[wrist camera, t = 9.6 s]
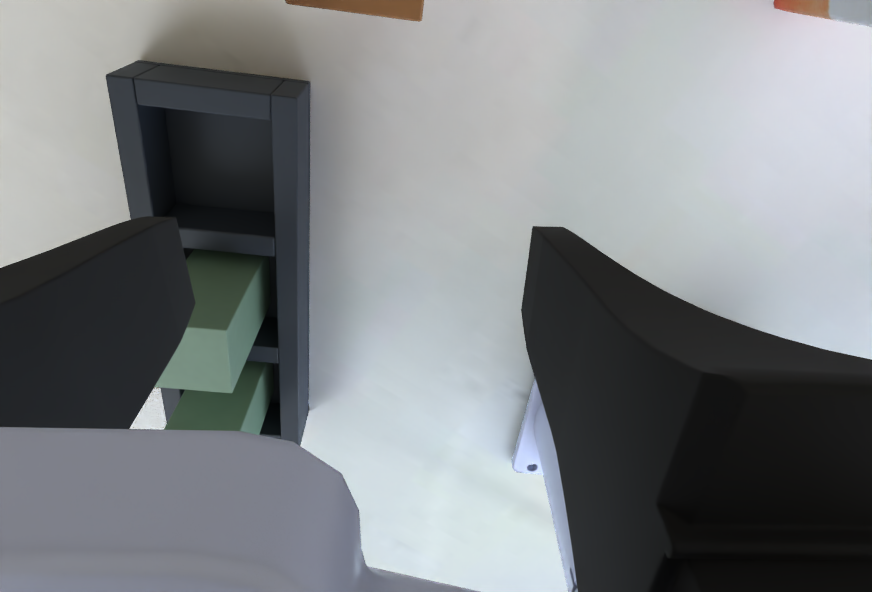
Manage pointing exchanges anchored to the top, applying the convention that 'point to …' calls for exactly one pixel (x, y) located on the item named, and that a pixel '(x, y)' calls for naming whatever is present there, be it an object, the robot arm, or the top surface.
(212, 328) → the middle green stick
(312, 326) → the top surface
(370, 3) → the oak stick
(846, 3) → the cracker box
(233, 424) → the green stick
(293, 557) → the robot arm
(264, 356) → the organizer
